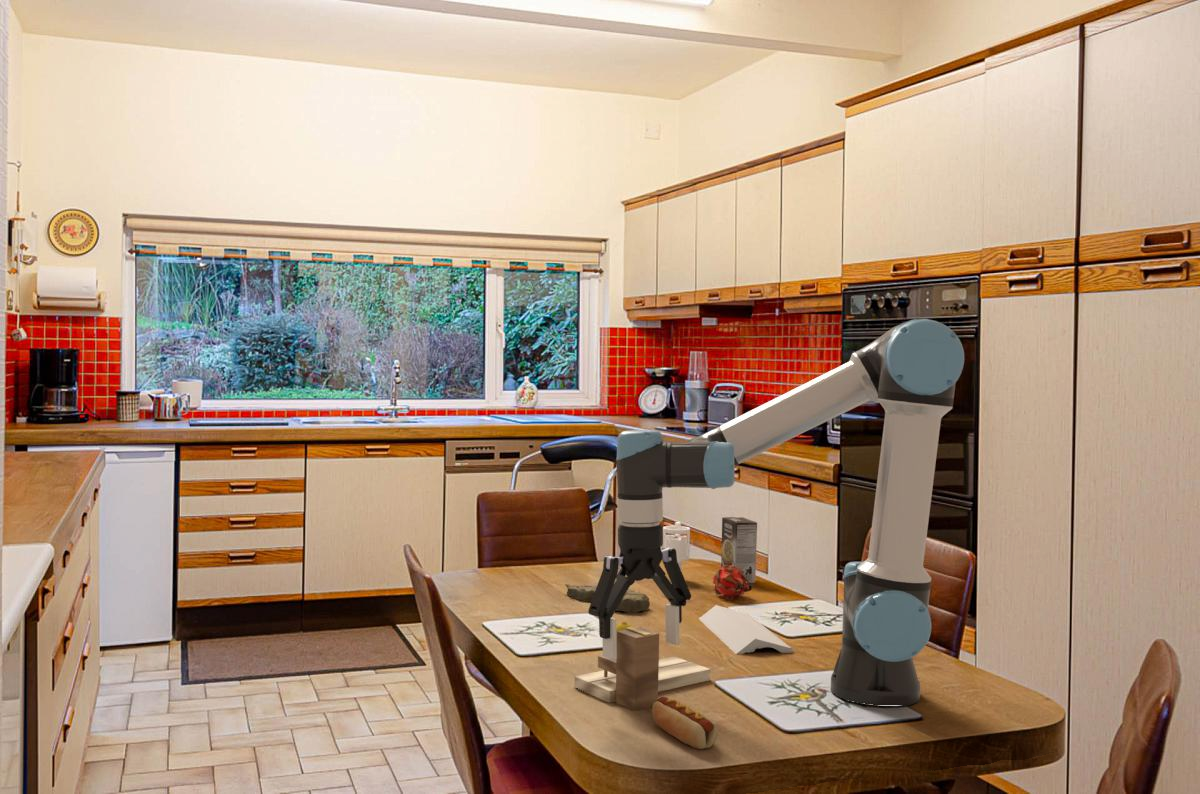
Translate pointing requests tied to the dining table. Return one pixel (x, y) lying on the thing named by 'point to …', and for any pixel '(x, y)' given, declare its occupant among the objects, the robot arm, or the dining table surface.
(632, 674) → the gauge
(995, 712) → the dining table surface
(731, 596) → the dragon fruit
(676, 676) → the board
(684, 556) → the white stepped cylinder
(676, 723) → the food
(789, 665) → the dining table surface
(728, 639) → the crown molding
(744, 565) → the coffee box
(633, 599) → the stone slab
